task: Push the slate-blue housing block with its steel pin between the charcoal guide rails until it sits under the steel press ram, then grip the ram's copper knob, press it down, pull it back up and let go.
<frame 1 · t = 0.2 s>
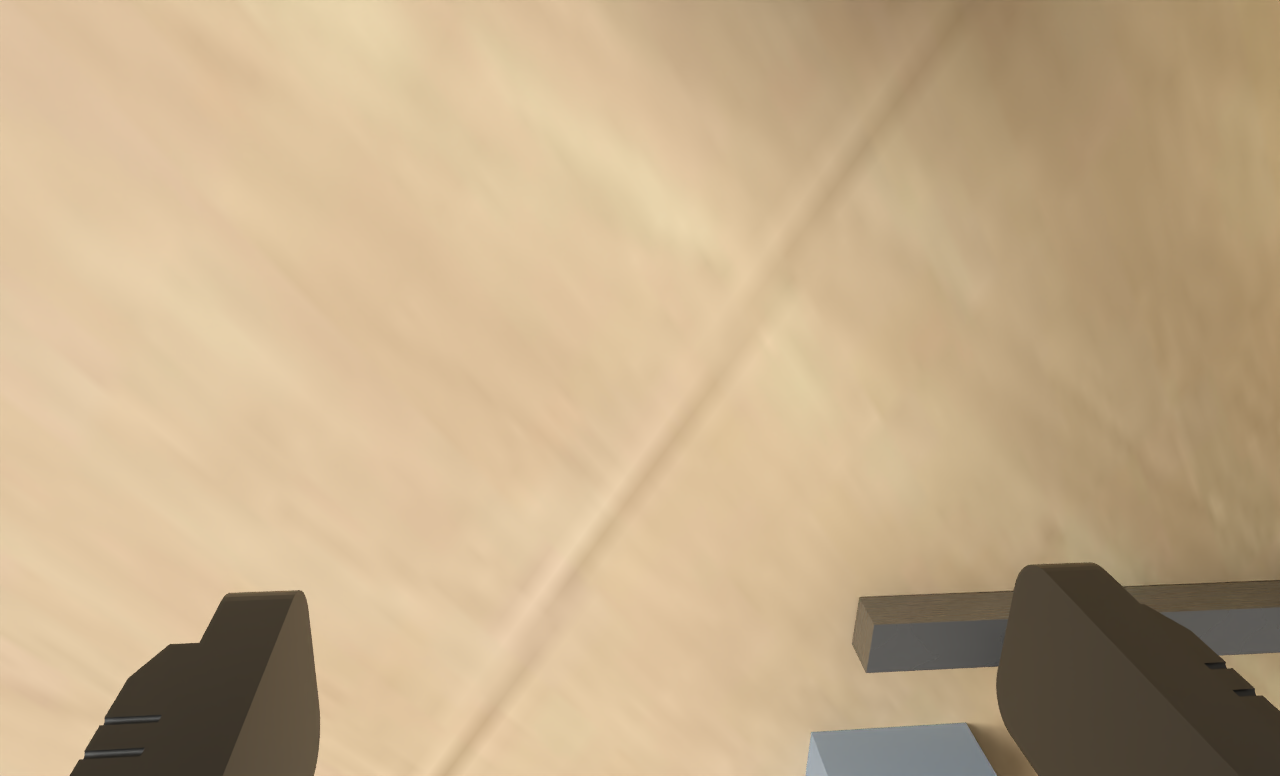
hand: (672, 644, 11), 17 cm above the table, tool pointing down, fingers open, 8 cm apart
press frame: (1120, 772, 38), on the table
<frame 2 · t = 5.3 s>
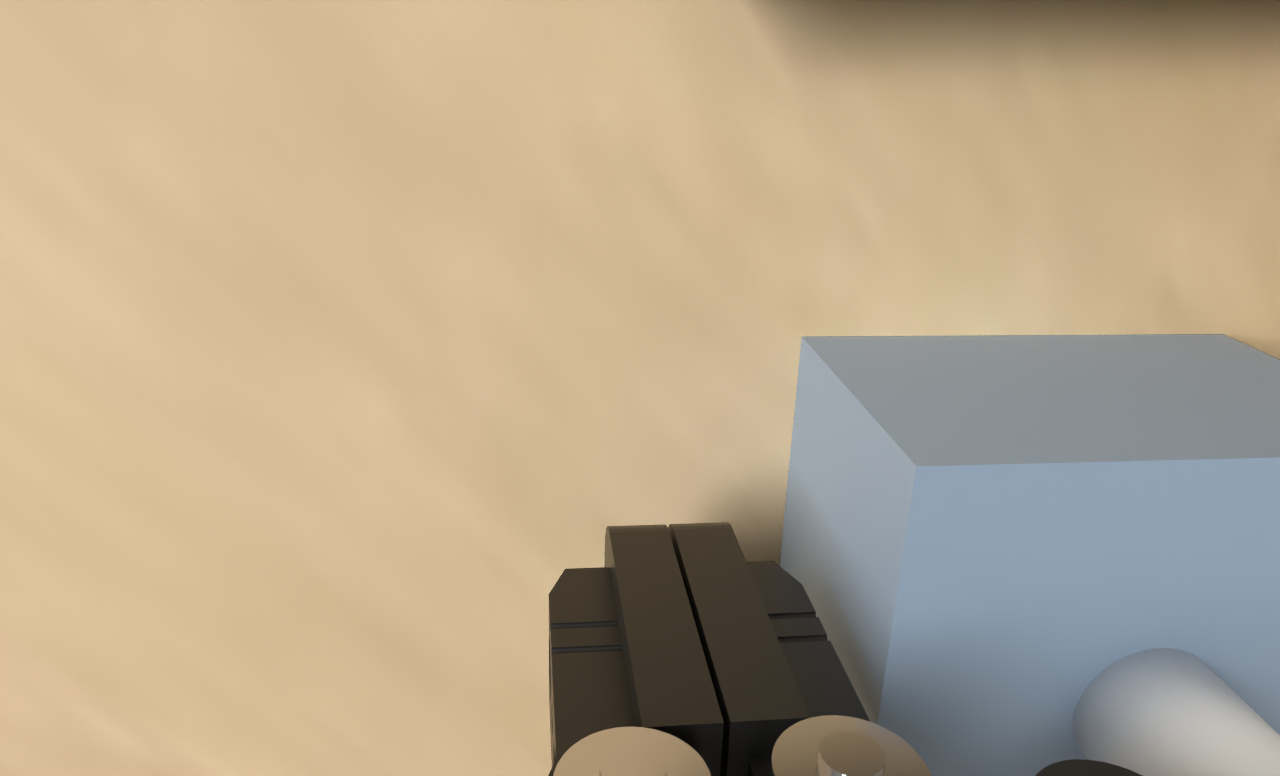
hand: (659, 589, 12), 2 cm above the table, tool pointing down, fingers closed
housing block: (977, 525, 14), on the table
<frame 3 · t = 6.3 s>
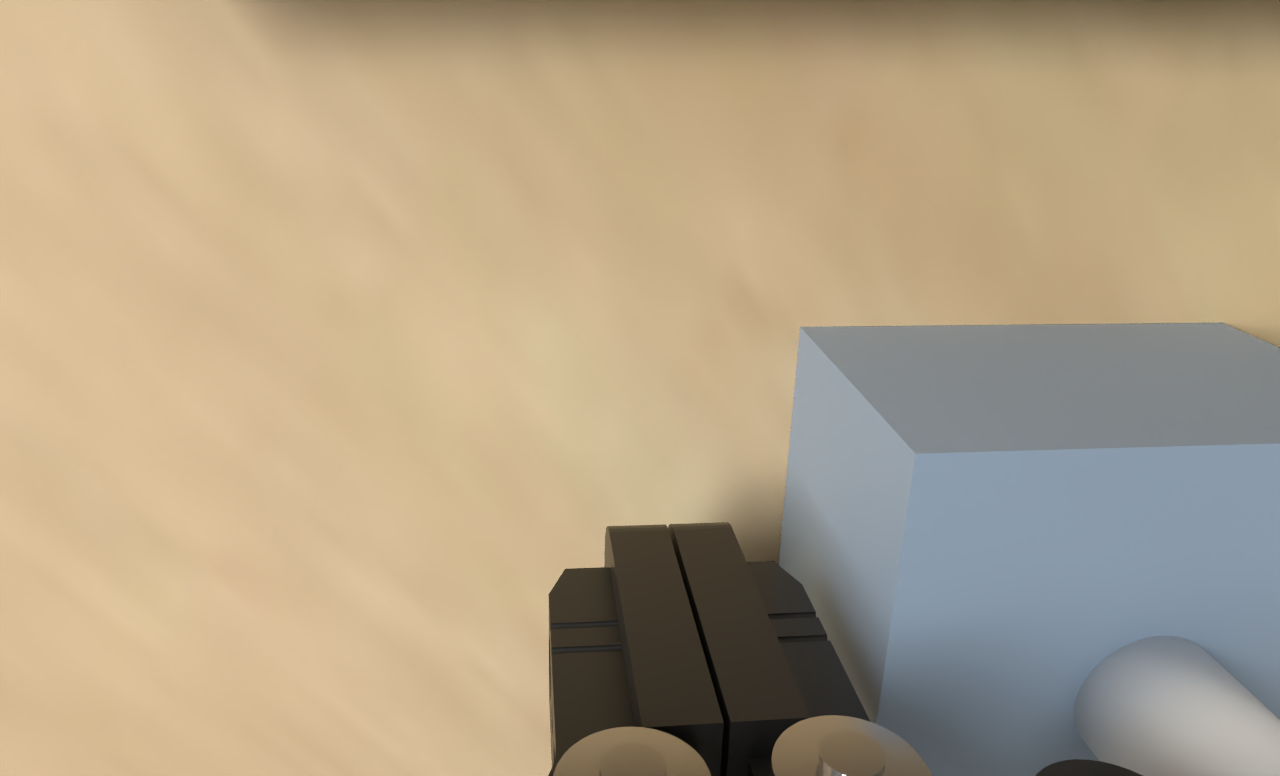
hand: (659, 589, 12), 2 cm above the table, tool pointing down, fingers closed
housing block: (978, 516, 14), on the table
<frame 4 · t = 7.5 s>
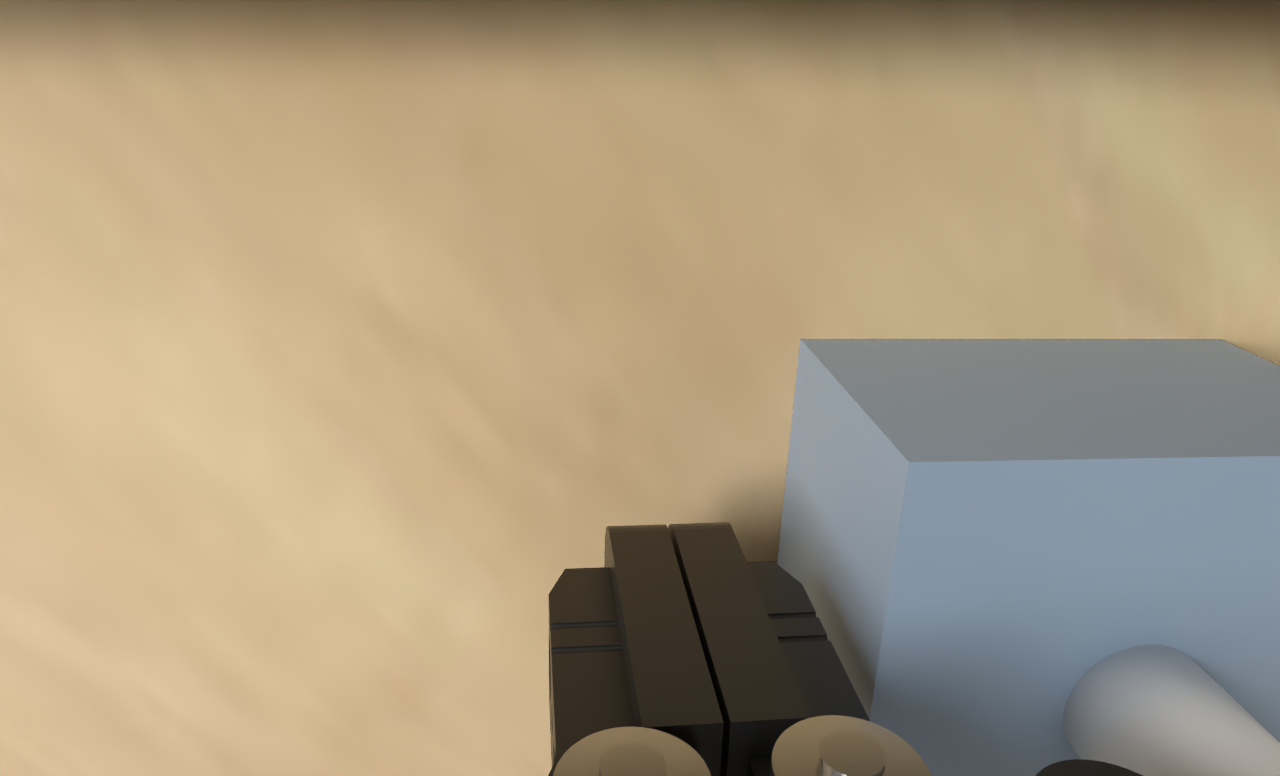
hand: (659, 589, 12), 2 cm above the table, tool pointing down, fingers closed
housing block: (971, 525, 14), on the table, touching gripper
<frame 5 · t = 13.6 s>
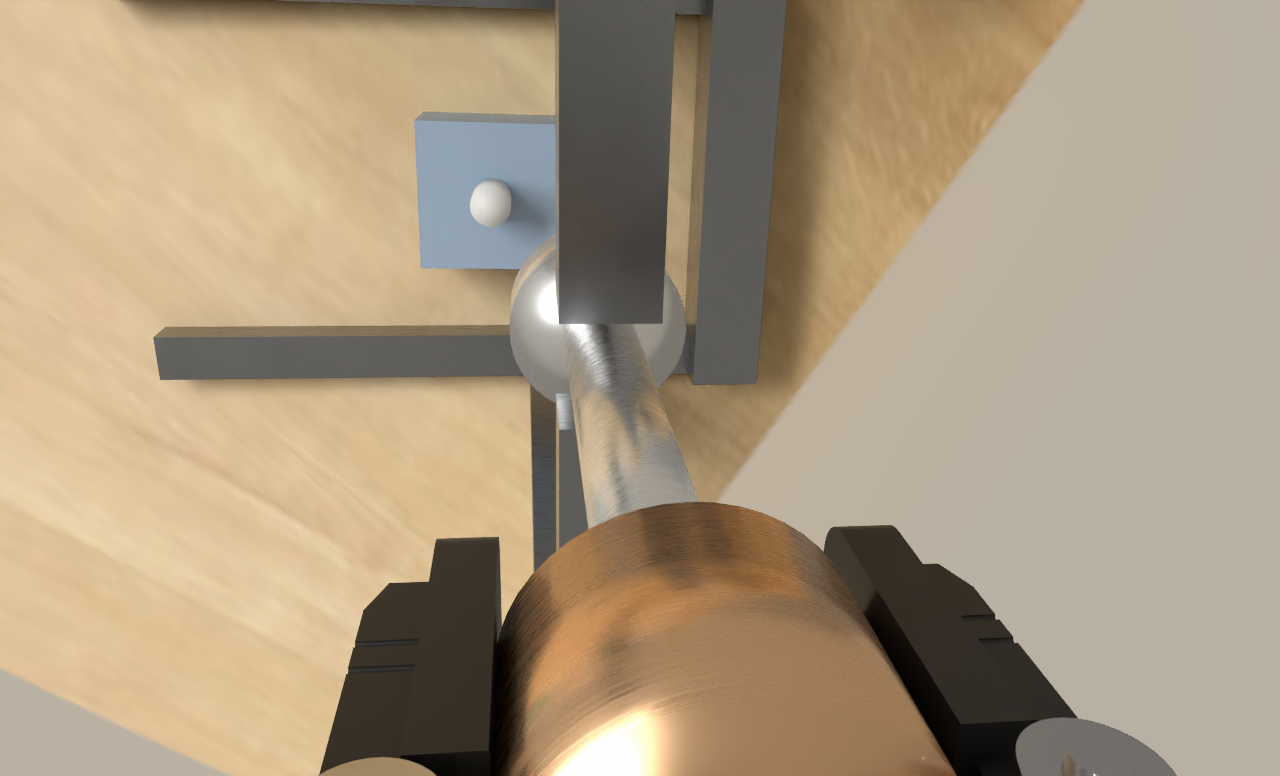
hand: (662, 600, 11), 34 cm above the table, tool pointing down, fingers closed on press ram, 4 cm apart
press frame: (425, 175, 42), on the table
press ram: (628, 452, 15), point 29 cm above the table, slide at 0.0 cm, touching gripper
housing block: (494, 182, 43), on the table
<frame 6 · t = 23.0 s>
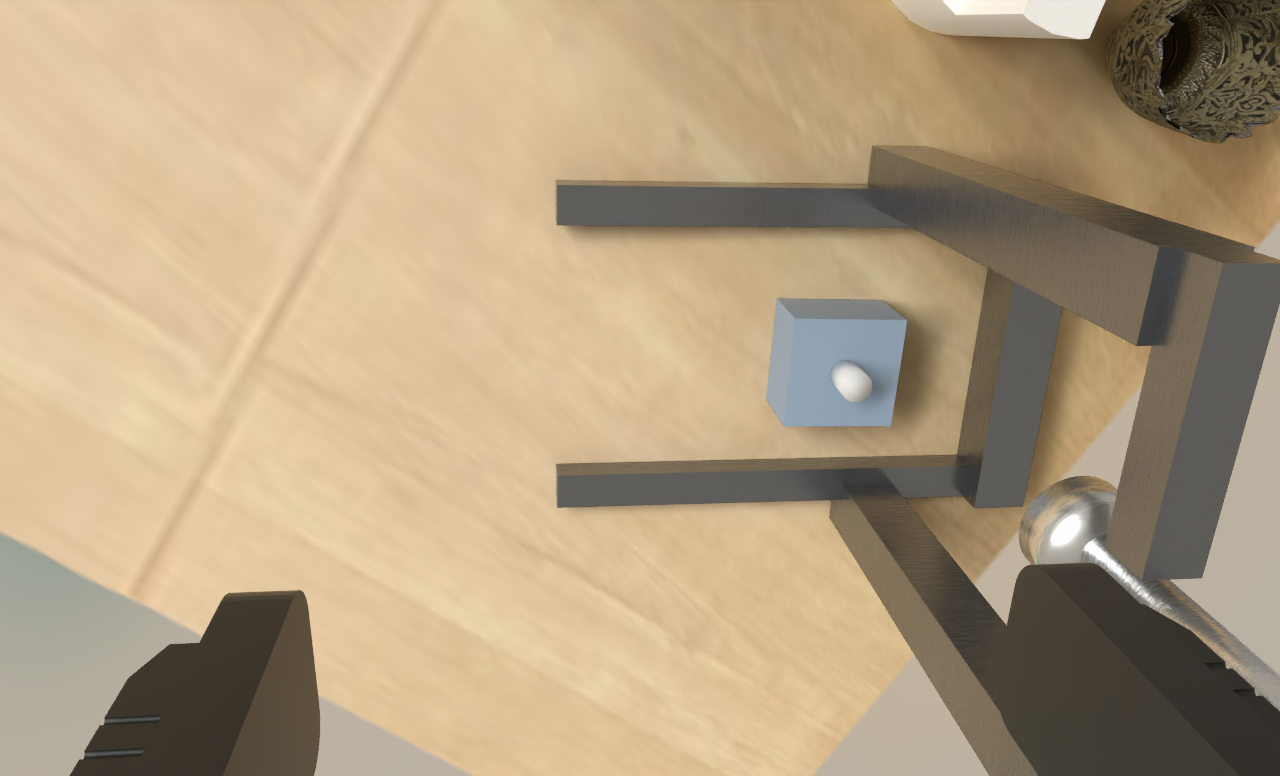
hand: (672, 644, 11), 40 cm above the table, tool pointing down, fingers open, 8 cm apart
cup: (1130, 51, 49), on the table
press frame: (771, 345, 53), on the table
press ram: (1235, 675, 26), point 29 cm above the table, slide at 0.3 cm
housing block: (822, 349, 53), on the table
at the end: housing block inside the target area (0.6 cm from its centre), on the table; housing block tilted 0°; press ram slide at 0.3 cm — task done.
